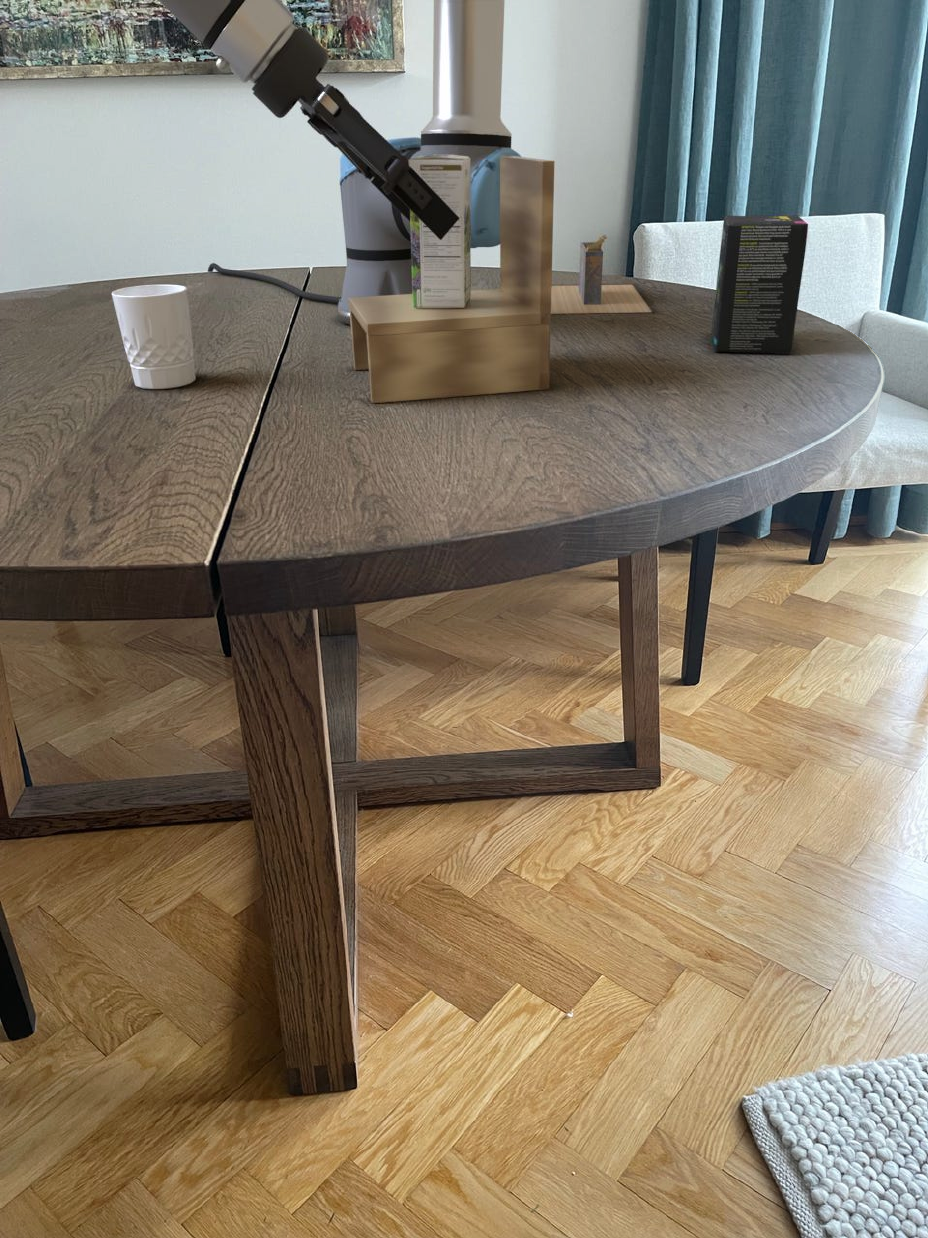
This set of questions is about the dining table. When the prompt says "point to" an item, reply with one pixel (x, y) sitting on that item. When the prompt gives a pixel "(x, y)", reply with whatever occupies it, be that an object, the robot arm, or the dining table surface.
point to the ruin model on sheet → (595, 289)
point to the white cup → (156, 334)
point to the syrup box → (446, 261)
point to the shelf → (472, 312)
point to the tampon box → (758, 283)
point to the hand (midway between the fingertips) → (435, 222)
